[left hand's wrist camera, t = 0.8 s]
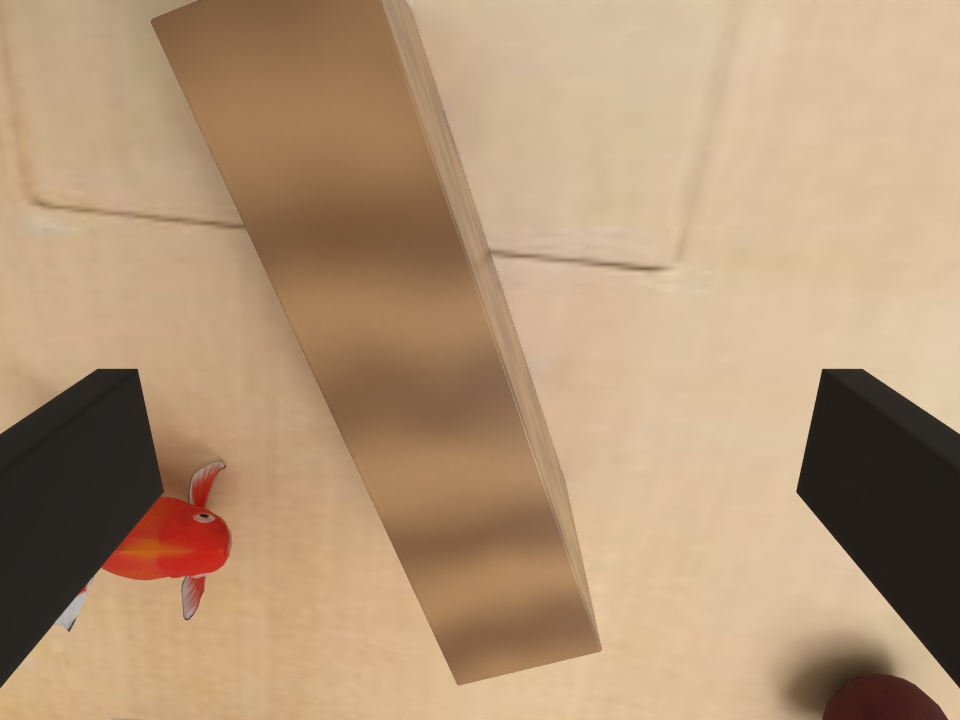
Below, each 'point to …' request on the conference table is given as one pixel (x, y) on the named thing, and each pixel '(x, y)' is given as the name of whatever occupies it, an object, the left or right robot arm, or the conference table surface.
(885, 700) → the dark maroon ball
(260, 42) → the box
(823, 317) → the conference table surface
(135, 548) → the fish
